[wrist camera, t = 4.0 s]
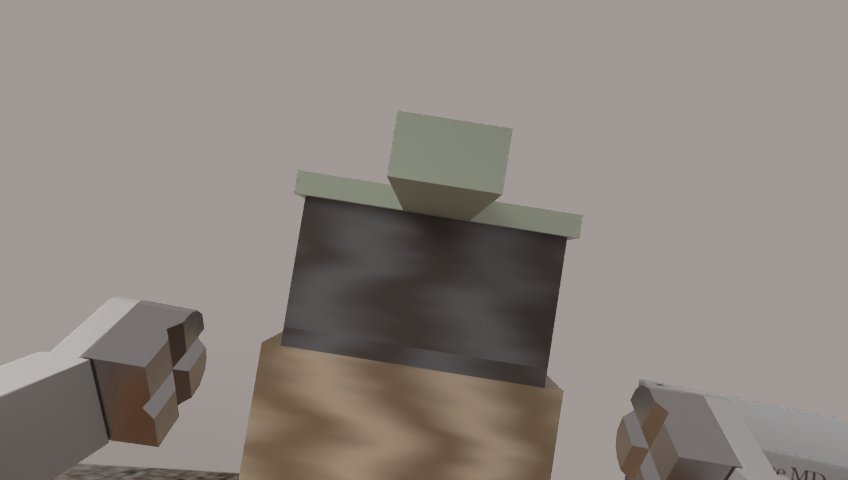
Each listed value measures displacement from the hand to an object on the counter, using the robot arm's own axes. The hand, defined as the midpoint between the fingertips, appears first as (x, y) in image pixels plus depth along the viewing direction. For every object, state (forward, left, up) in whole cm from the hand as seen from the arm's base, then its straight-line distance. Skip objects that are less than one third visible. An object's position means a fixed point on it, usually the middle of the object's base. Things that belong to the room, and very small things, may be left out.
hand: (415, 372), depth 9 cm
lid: (0, +18, +4) cm, 19 cm away
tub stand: (0, +24, -22) cm, 32 cm away
